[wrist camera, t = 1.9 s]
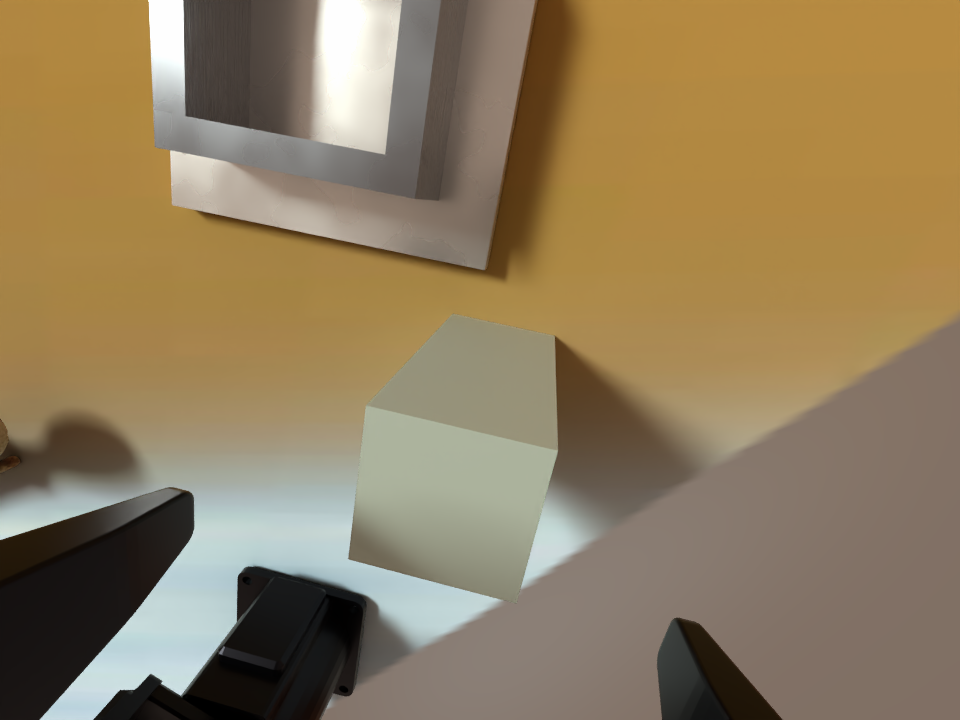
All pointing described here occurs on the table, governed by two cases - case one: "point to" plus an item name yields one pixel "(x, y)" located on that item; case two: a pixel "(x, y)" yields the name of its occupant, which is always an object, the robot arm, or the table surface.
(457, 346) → the rail post
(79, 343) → the table surface
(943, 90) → the table surface
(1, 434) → the figurine
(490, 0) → the bracket
